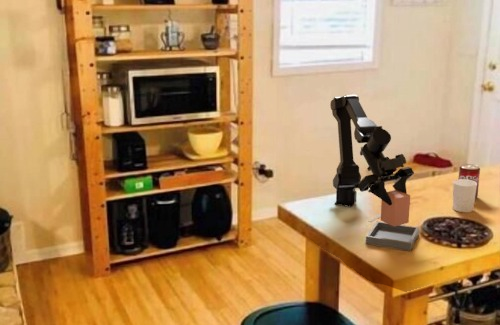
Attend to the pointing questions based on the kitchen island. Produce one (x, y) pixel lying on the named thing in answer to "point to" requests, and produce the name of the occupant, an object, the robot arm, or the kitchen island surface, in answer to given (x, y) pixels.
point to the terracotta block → (396, 208)
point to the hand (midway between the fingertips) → (398, 202)
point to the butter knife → (373, 220)
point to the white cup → (464, 195)
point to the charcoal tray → (392, 236)
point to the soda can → (470, 174)
